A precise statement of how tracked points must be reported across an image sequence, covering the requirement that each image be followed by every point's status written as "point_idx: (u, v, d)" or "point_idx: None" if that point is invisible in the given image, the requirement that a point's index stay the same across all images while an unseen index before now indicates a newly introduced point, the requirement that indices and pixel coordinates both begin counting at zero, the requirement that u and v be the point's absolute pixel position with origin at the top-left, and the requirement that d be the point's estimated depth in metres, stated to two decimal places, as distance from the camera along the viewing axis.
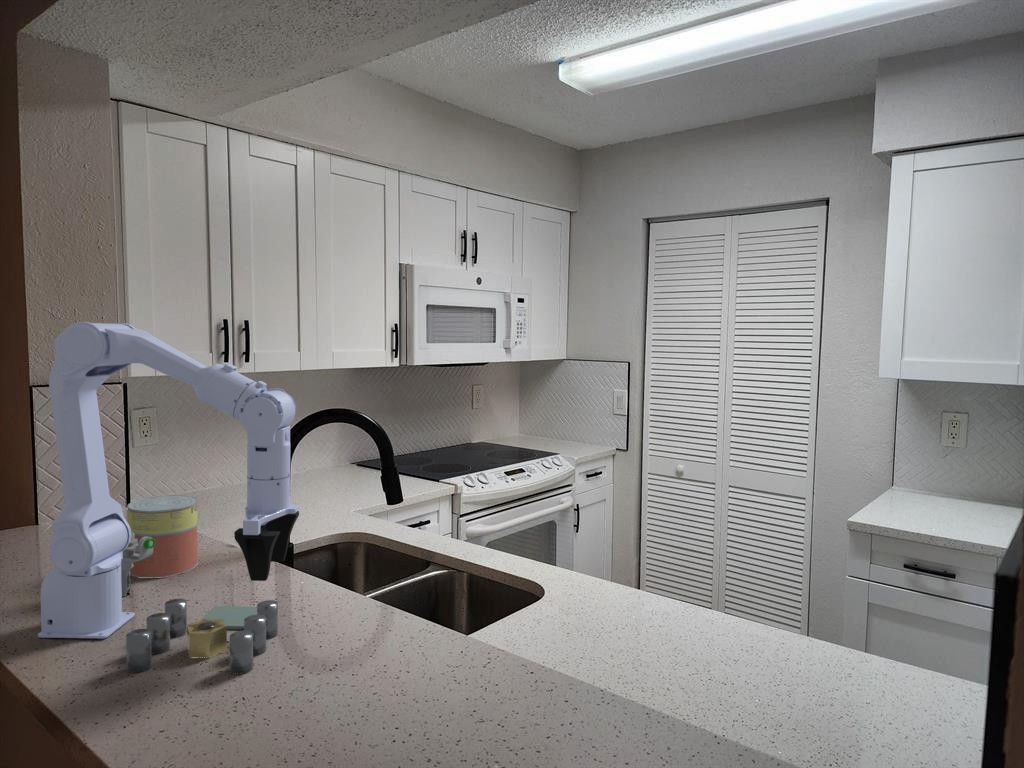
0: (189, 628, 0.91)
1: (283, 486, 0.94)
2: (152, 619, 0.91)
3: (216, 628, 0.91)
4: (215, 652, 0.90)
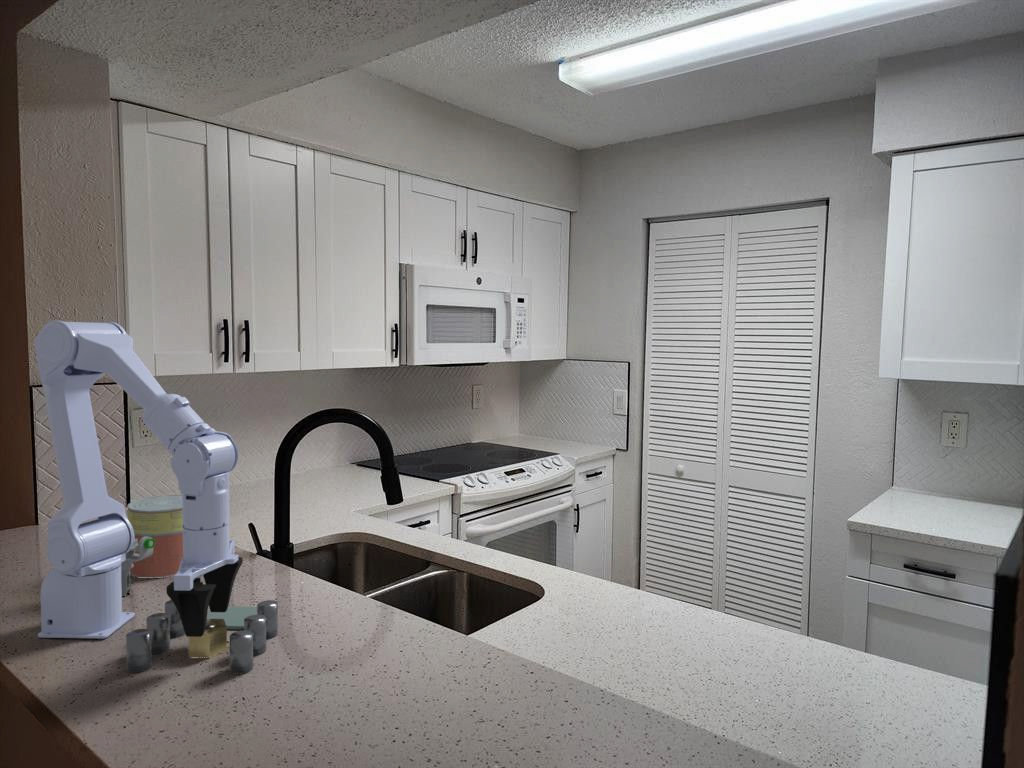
0: None
1: (220, 535, 0.89)
2: (152, 619, 0.91)
3: (216, 628, 0.91)
4: (215, 652, 0.90)
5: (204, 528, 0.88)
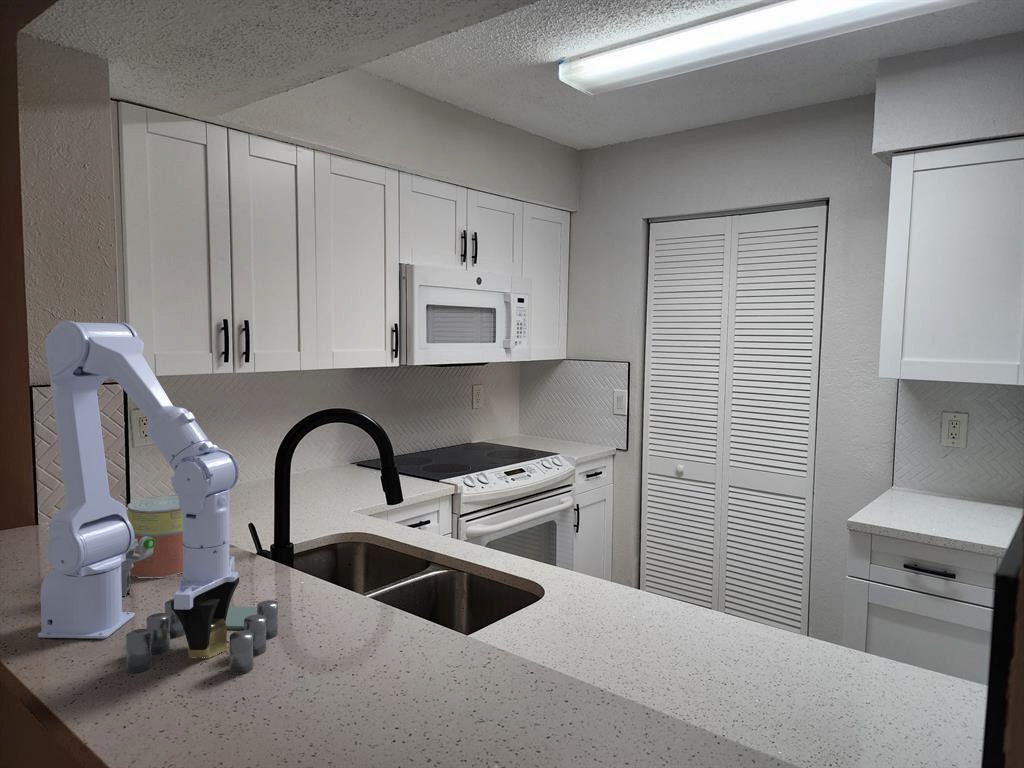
0: None
1: (220, 553, 0.90)
2: (152, 619, 0.91)
3: (216, 627, 0.91)
4: (215, 651, 0.90)
5: (204, 546, 0.88)
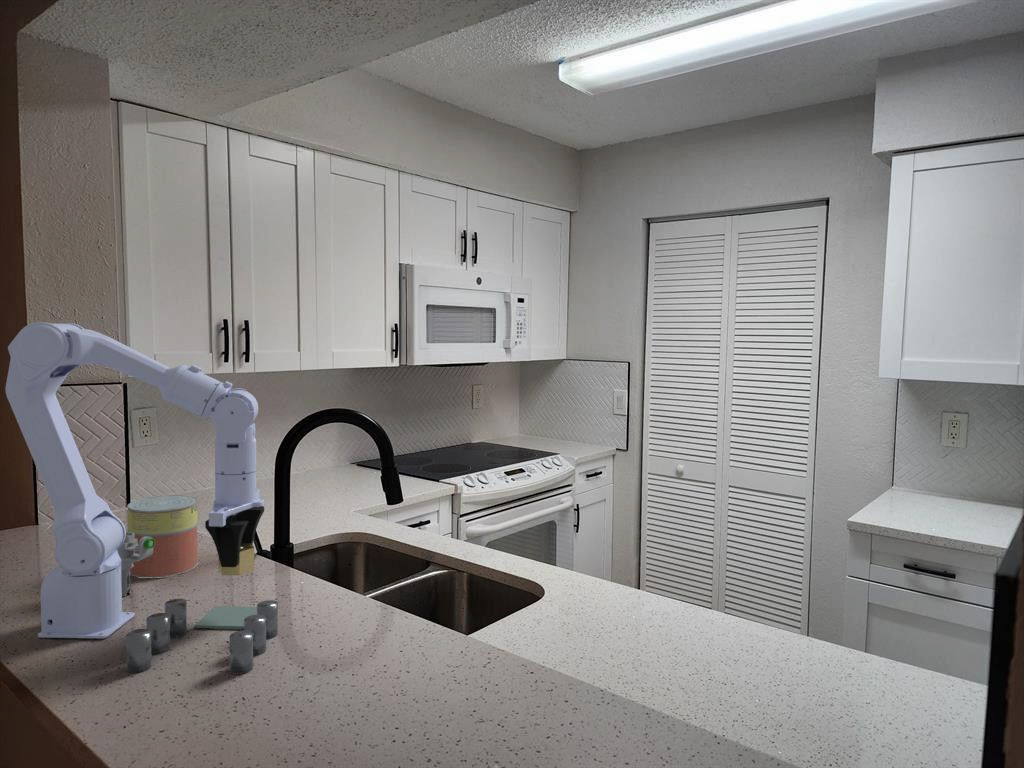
0: None
1: (248, 480, 0.99)
2: (152, 619, 0.91)
3: (245, 549, 1.01)
4: (244, 570, 1.00)
5: (245, 472, 0.99)
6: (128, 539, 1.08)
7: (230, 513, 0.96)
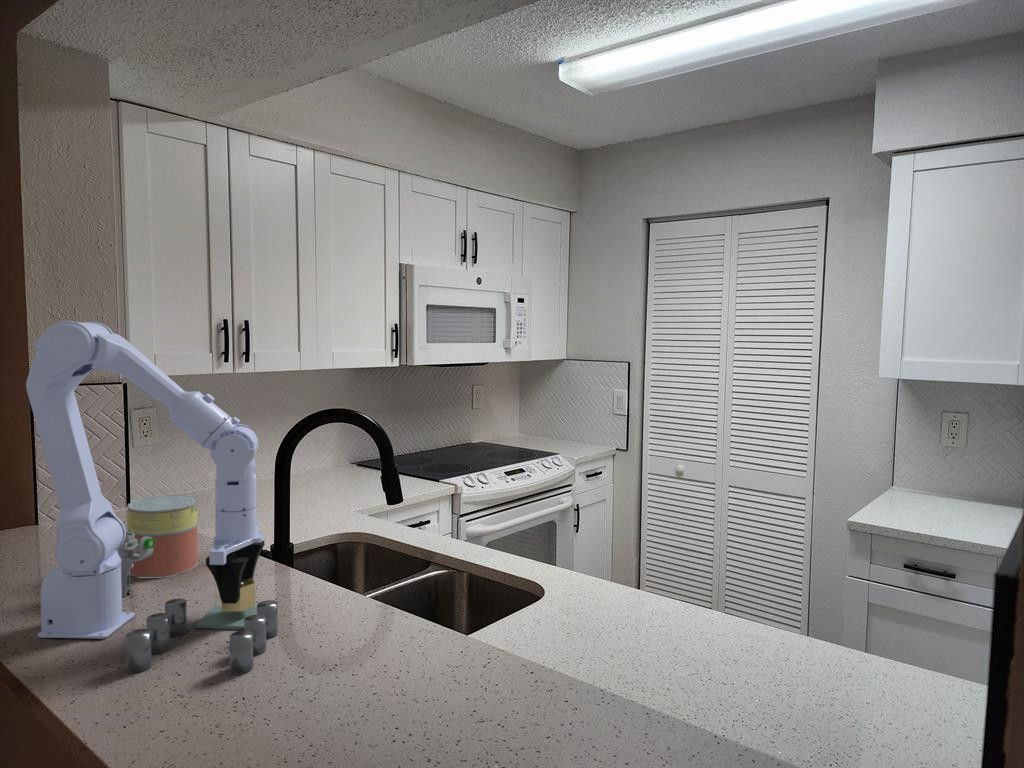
0: None
1: (249, 516, 1.00)
2: (152, 619, 0.91)
3: (245, 584, 1.01)
4: (244, 605, 1.01)
5: (246, 509, 0.99)
6: (128, 539, 1.08)
7: (230, 551, 0.96)
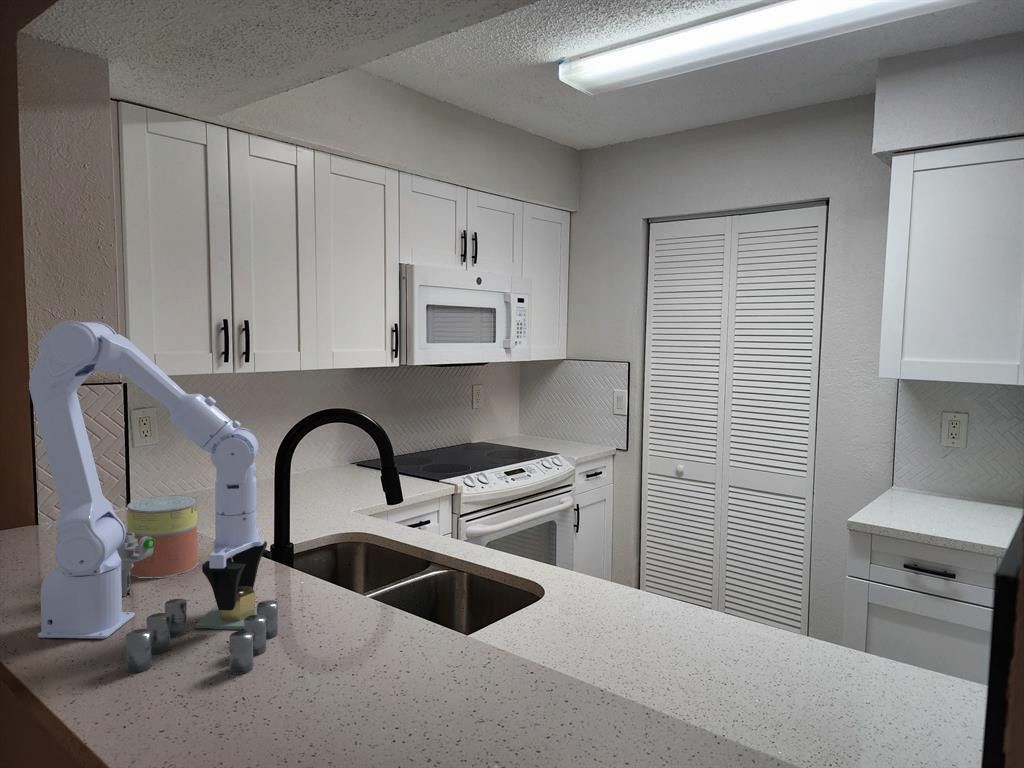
0: None
1: (249, 520, 1.00)
2: (152, 619, 0.91)
3: (245, 593, 1.02)
4: (244, 615, 1.01)
5: (246, 512, 0.99)
6: (128, 539, 1.08)
7: (230, 554, 0.96)
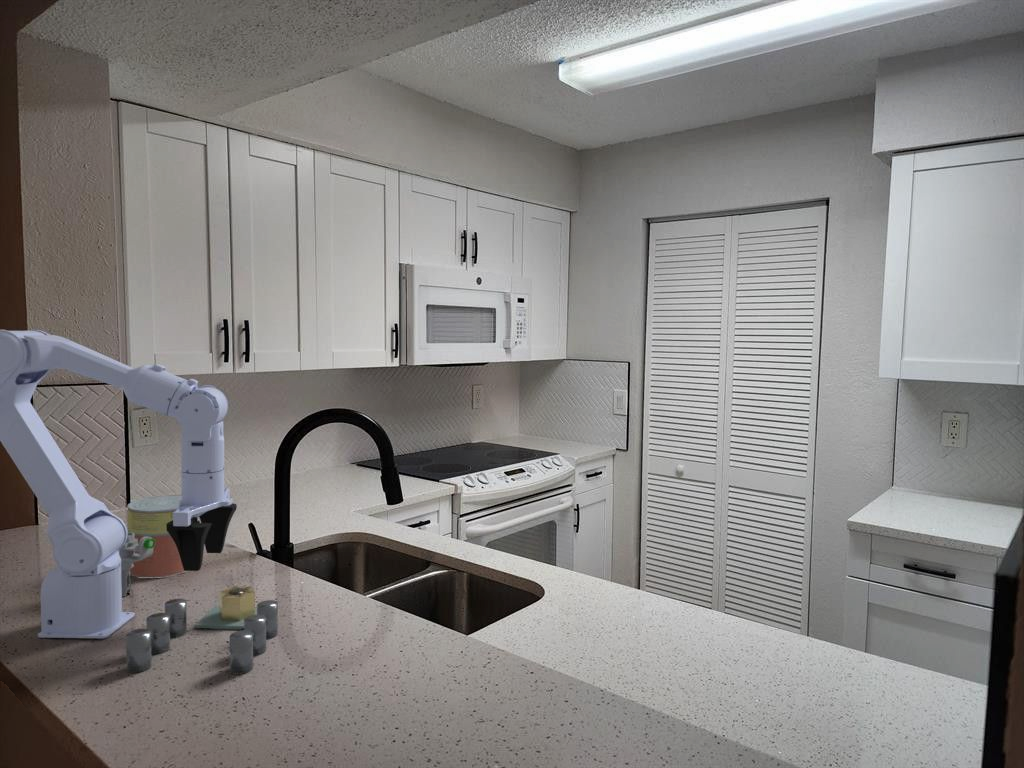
0: (221, 593, 1.01)
1: (216, 479, 0.97)
2: (152, 619, 0.91)
3: (245, 593, 1.02)
4: (244, 615, 1.01)
5: (211, 471, 0.97)
6: (128, 539, 1.08)
7: (196, 513, 0.94)
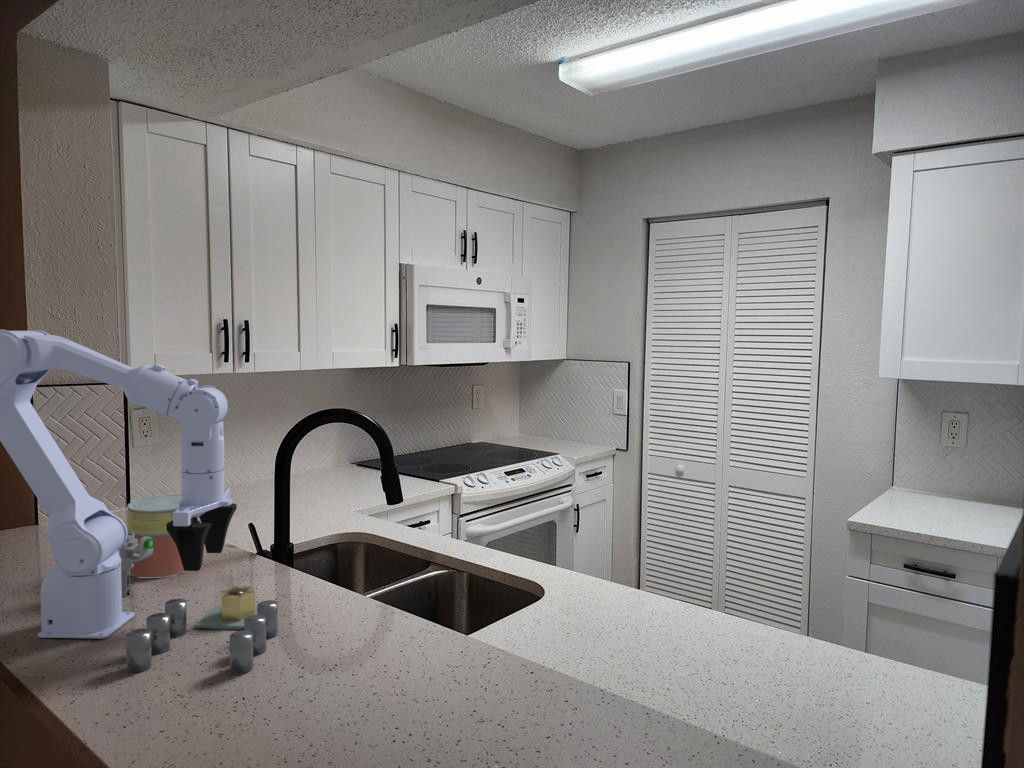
0: (221, 593, 1.01)
1: (216, 479, 0.97)
2: (152, 619, 0.91)
3: (245, 593, 1.02)
4: (244, 615, 1.01)
5: (211, 471, 0.97)
6: (128, 539, 1.08)
7: (196, 513, 0.94)
